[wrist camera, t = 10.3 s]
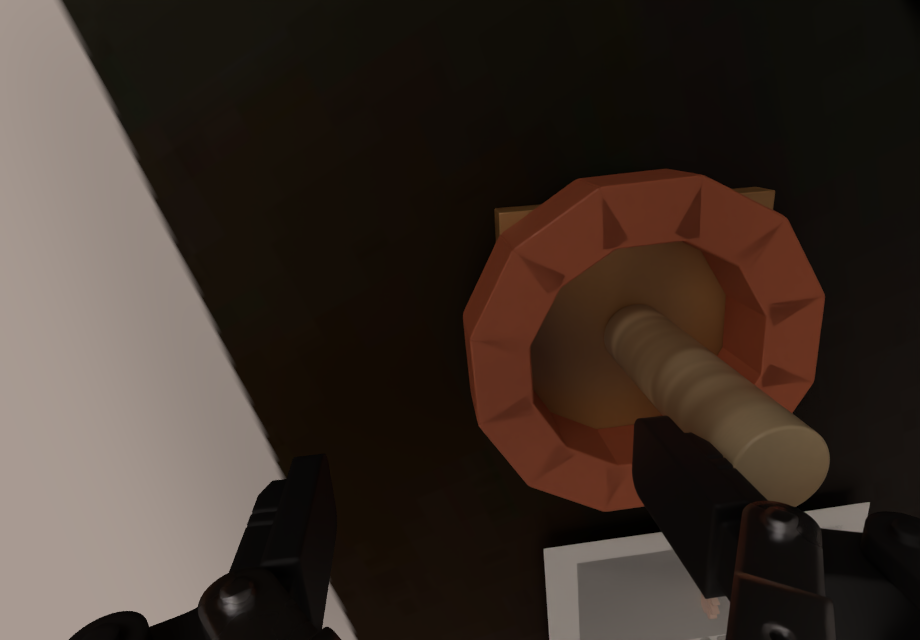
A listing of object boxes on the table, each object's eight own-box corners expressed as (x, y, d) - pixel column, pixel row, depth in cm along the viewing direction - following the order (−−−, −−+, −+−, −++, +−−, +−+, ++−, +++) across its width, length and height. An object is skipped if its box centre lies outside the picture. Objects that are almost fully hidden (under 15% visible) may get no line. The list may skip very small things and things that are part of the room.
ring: (449, 192, 19) (454, 203, 16) (789, 154, 19) (843, 158, 17) (480, 485, 23) (488, 529, 20) (760, 447, 23) (801, 485, 21)
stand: (493, 208, 20) (566, 282, 11) (756, 186, 21) (1048, 239, 11) (505, 442, 24) (567, 658, 14) (730, 419, 24) (938, 611, 15)
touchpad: (538, 531, 25) (549, 567, 23) (851, 487, 26) (889, 518, 24) (546, 655, 28) (557, 697, 26) (831, 612, 29) (862, 650, 27)
